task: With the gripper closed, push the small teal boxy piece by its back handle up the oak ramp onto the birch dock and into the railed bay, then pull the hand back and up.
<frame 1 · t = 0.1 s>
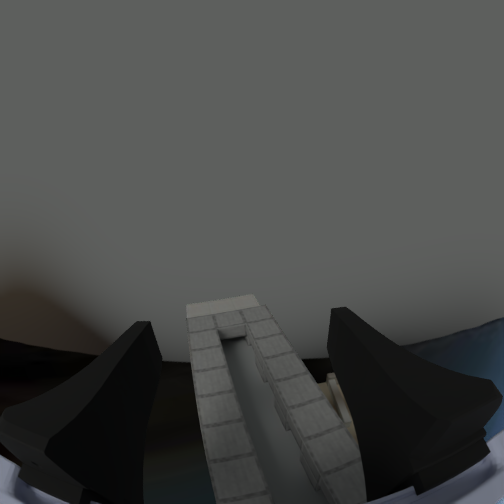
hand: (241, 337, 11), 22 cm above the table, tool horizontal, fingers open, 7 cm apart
toy vehicle: (256, 459, 24), on the table
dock: (388, 434, 24), on the table
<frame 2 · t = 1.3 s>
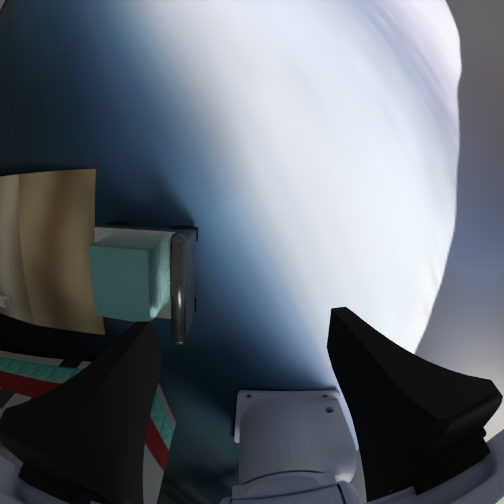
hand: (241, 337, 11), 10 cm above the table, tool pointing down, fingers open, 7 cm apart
toy vehicle: (52, 376, 23), on the table
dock: (23, 250, 19), on the table
teal boxy piece: (152, 263, 20), on the table
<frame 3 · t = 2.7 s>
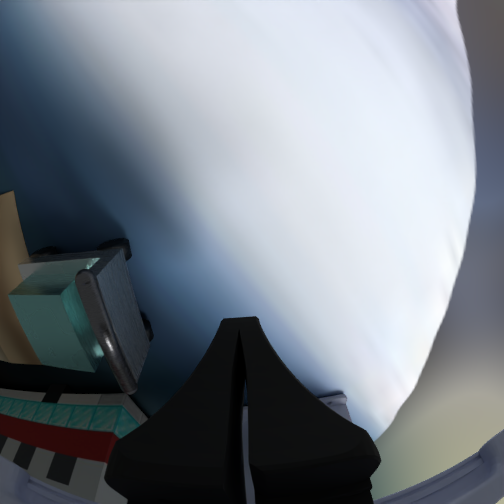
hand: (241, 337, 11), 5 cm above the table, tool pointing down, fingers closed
toy vehicle: (45, 405, 21), on the table
teal boxy piece: (94, 288, 15), on the table
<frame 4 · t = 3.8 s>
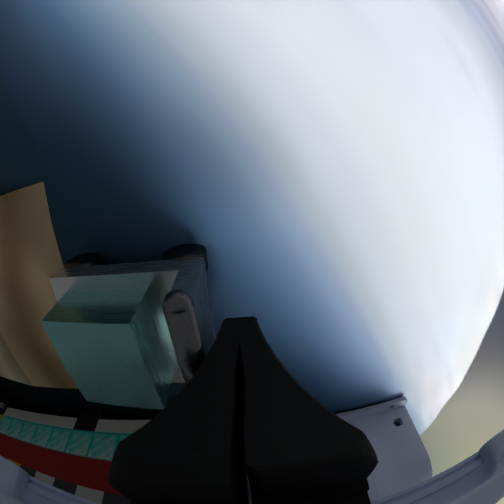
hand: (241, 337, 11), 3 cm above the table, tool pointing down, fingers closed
toy vehicle: (71, 426, 19), on the table
teal boxy piece: (148, 304, 13), on the table, touching gripper
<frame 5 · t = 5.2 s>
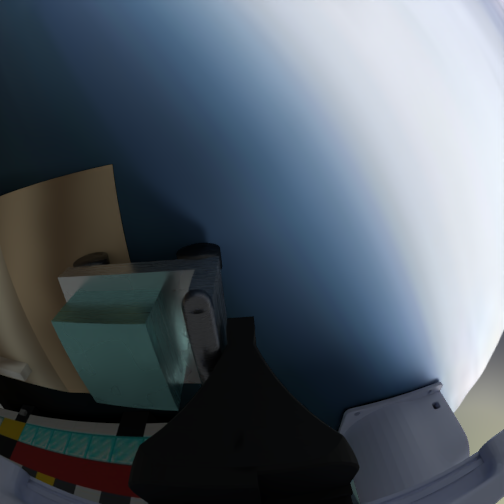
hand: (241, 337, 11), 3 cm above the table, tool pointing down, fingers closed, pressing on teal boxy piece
toy vehicle: (103, 432, 19), on the table
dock: (25, 302, 13), on the table
teal boxy piece: (158, 303, 13), on the table, touching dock, gripper
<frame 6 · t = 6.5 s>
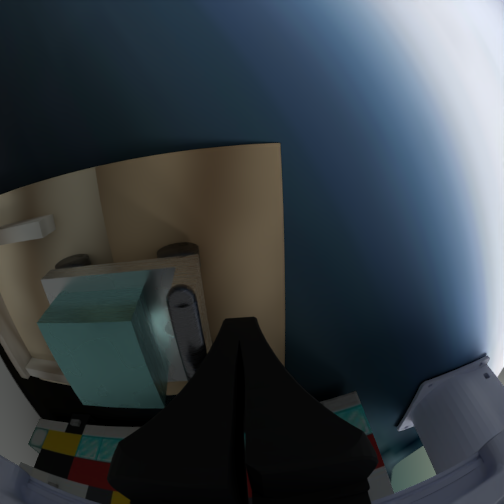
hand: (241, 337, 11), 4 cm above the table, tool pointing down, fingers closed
toy vehicle: (176, 435, 20), on the table
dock: (118, 296, 14), on the table
teal boxy piece: (139, 304, 13), point 1 cm above the table, tilted 6°, touching gripper
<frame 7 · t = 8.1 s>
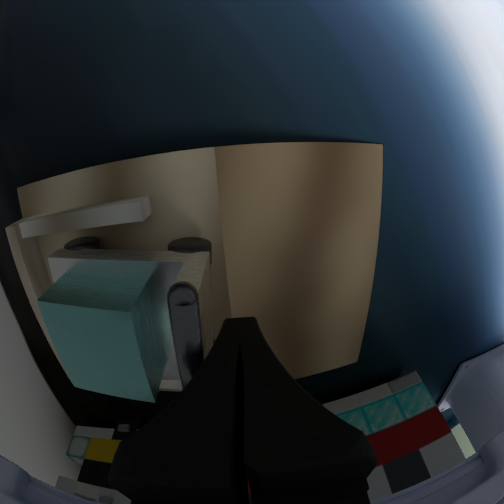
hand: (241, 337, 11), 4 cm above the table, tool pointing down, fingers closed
toy vehicle: (234, 431, 21), on the table
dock: (211, 287, 15), on the table
teal boxy piece: (145, 293, 13), point 1 cm above the table, touching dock, gripper
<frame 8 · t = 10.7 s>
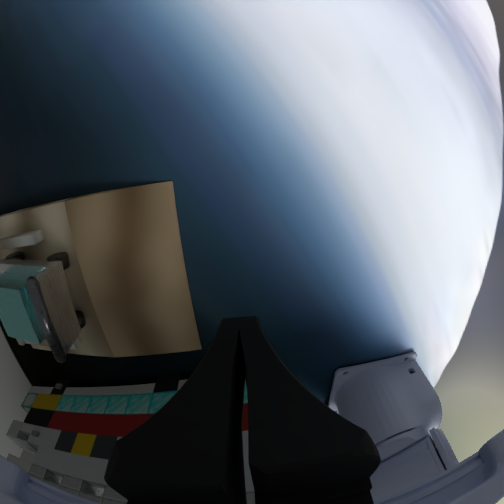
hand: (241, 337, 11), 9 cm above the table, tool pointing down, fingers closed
toy vehicle: (134, 398, 26), on the table
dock: (84, 282, 20), on the table
teal boxy piece: (48, 285, 18), point 1 cm above the table, touching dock
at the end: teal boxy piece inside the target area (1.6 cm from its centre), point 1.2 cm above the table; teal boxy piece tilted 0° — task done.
